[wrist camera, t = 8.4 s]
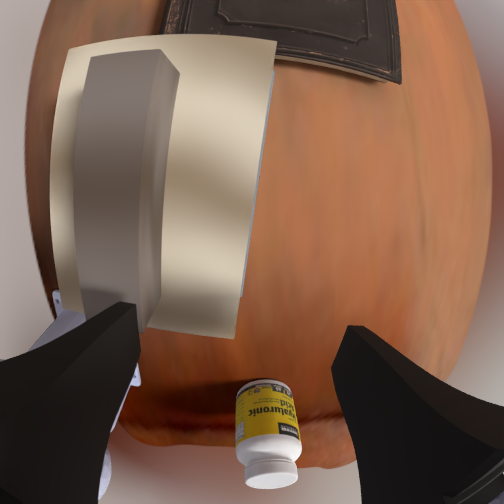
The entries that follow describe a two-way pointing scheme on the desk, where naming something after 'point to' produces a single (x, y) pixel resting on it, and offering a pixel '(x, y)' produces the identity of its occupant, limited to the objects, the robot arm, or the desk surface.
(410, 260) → the desk surface
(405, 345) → the desk surface
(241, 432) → the supplement bottle
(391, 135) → the desk surface
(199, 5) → the hardcover book
